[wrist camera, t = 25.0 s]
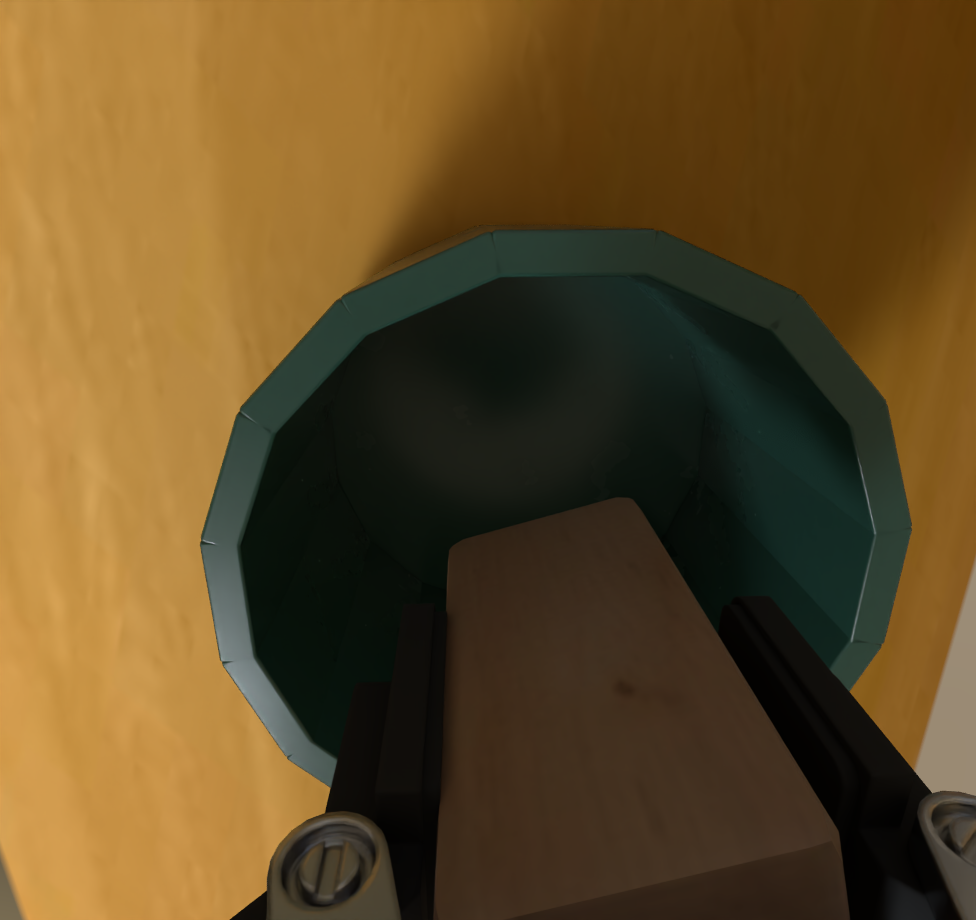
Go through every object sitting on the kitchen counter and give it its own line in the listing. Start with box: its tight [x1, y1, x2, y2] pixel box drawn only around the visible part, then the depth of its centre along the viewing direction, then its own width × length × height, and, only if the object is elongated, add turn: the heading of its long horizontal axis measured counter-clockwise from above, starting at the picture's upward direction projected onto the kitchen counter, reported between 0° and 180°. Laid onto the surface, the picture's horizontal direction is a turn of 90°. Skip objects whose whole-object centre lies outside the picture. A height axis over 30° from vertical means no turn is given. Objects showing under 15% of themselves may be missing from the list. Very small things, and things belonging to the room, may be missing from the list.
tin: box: [200, 225, 912, 788], centre depth 19 cm, size 15×15×10 cm
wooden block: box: [433, 497, 850, 920], centre depth 10 cm, size 4×4×8 cm
